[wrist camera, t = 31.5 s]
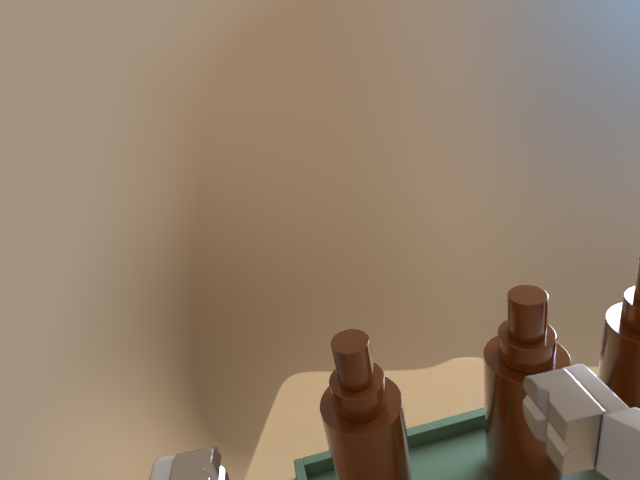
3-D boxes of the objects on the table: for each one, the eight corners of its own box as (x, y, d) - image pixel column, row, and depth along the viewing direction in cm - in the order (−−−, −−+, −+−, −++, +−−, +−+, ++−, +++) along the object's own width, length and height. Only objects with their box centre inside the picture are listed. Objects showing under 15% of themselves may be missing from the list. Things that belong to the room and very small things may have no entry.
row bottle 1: (509, 515, 33) (512, 329, 26) (473, 454, 38) (467, 284, 31) (578, 495, 33) (598, 306, 26) (533, 437, 38) (540, 265, 31)
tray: (321, 631, 29) (315, 613, 28) (298, 476, 39) (293, 459, 39) (749, 496, 32) (756, 476, 31) (621, 385, 42) (624, 368, 41)
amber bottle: (355, 563, 32) (313, 382, 25) (339, 493, 37) (300, 326, 30) (428, 541, 32) (408, 357, 25) (403, 475, 37) (379, 306, 30)
